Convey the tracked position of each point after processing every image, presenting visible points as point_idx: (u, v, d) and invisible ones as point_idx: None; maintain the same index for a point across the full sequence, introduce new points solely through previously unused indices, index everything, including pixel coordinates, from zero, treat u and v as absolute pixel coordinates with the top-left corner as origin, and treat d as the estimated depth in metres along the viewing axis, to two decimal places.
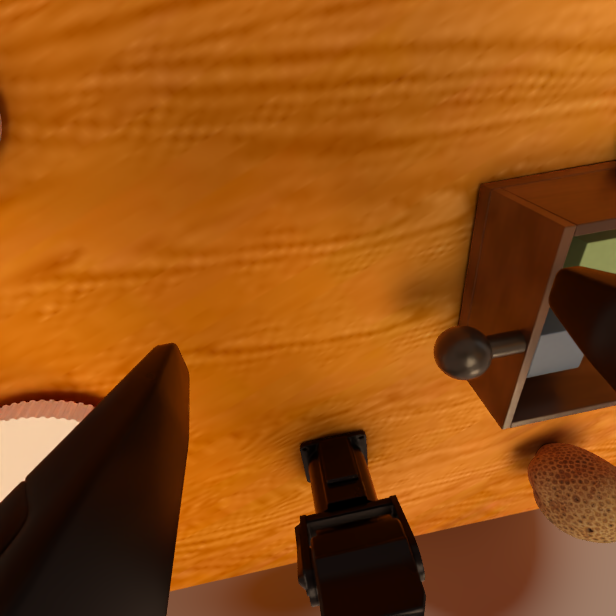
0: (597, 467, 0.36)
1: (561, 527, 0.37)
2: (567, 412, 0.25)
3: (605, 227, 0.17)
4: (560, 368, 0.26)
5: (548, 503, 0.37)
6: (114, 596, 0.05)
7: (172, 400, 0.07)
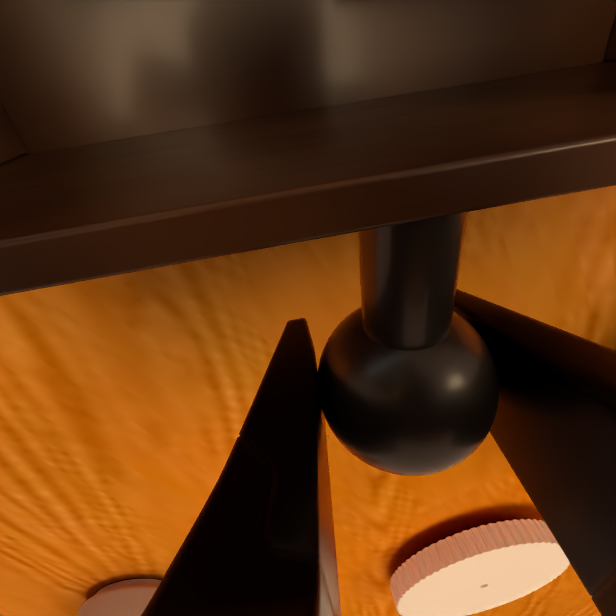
0: None
1: None
2: None
3: None
4: None
5: None
6: (329, 547, 0.05)
7: None
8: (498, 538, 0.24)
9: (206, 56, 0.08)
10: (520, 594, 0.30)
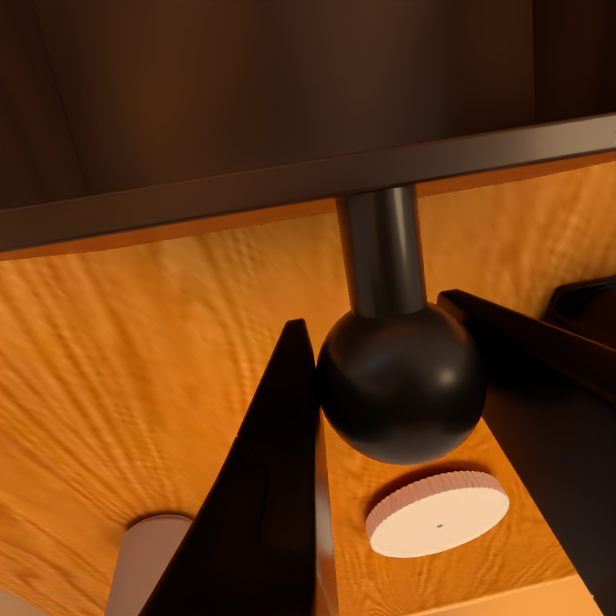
0: None
1: None
2: None
3: None
4: None
5: None
6: (327, 548, 0.05)
7: None
8: (446, 484, 0.31)
9: (236, 160, 0.11)
10: (471, 536, 0.38)
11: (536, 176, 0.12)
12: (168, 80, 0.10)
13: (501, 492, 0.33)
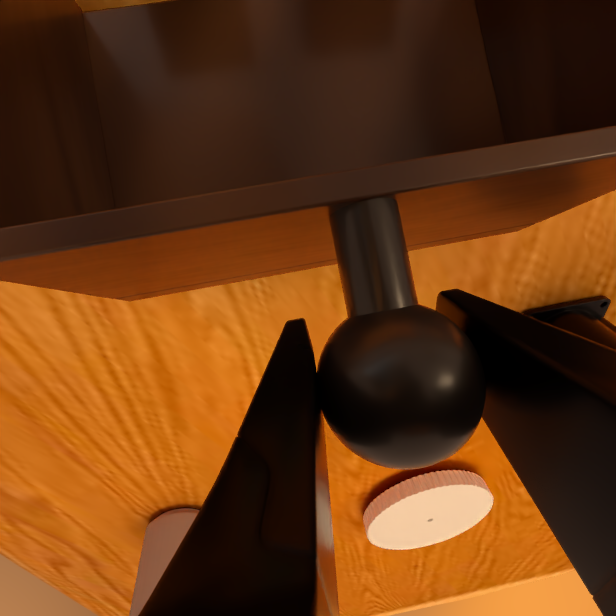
0: None
1: None
2: None
3: None
4: None
5: None
6: (327, 548, 0.05)
7: None
8: (435, 481, 0.35)
9: None
10: (460, 530, 0.41)
11: (522, 224, 0.13)
12: (197, 159, 0.12)
13: (485, 489, 0.36)
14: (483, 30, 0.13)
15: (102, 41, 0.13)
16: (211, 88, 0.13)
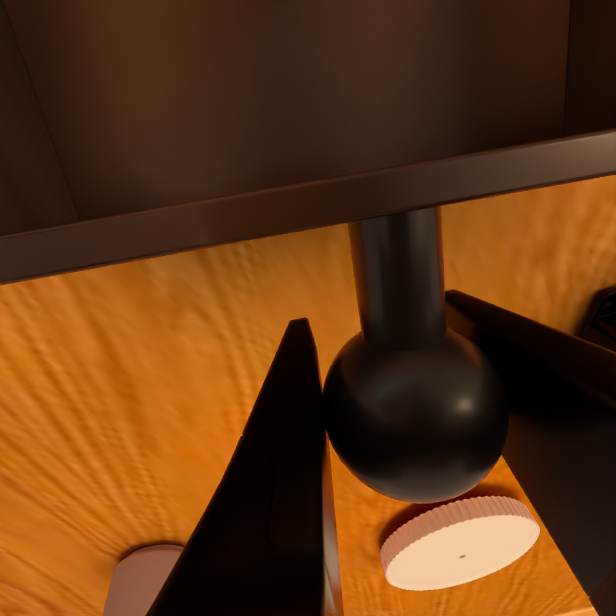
0: None
1: None
2: None
3: None
4: None
5: None
6: (332, 546, 0.05)
7: None
8: (470, 511, 0.28)
9: (231, 147, 0.10)
10: (496, 567, 0.34)
11: None
12: (152, 53, 0.09)
13: (531, 520, 0.30)
14: None
15: None
16: None
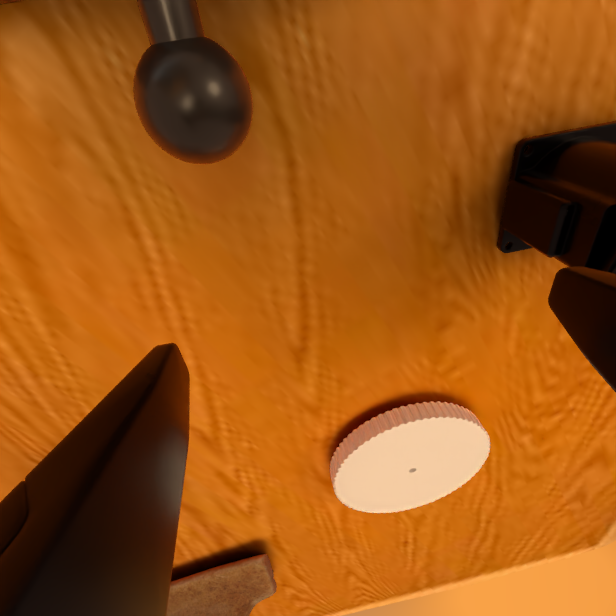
0: None
1: None
2: None
3: None
4: None
5: None
6: (114, 596, 0.05)
7: (172, 400, 0.07)
8: (414, 414, 0.27)
9: None
10: (451, 486, 0.34)
11: None
12: None
13: (478, 426, 0.29)
14: None
15: None
16: None
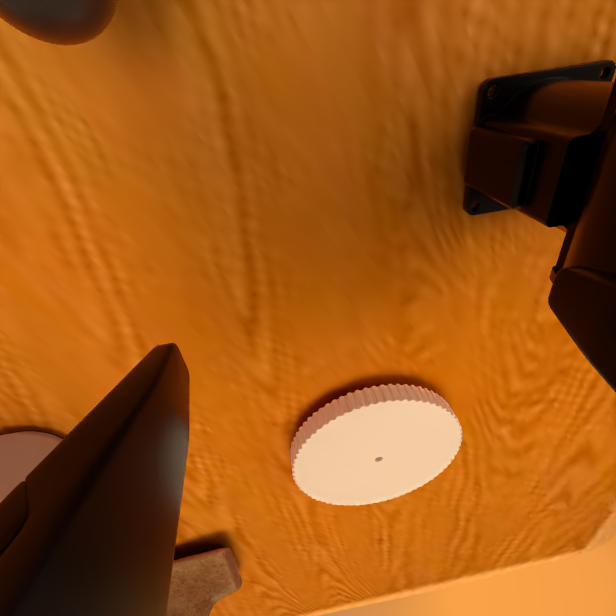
0: None
1: None
2: None
3: None
4: None
5: None
6: (114, 596, 0.05)
7: (172, 400, 0.07)
8: (377, 396, 0.25)
9: None
10: (422, 478, 0.32)
11: None
12: None
13: (448, 411, 0.27)
14: None
15: None
16: None
